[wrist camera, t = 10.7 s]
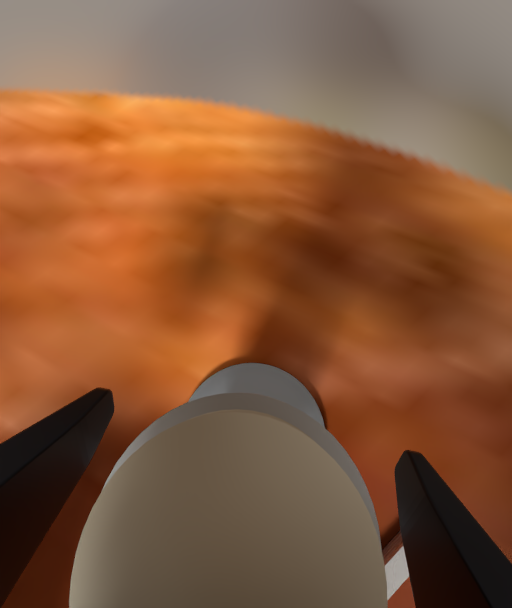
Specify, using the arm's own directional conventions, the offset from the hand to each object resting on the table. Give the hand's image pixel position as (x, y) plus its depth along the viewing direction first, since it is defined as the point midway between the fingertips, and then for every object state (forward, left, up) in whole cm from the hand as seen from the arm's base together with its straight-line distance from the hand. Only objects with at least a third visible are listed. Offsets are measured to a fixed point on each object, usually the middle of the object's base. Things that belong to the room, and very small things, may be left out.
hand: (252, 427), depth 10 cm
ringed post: (-1, -1, -8) cm, 8 cm away
